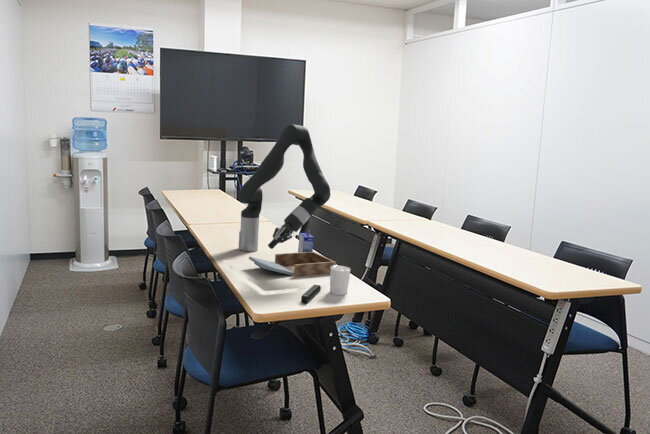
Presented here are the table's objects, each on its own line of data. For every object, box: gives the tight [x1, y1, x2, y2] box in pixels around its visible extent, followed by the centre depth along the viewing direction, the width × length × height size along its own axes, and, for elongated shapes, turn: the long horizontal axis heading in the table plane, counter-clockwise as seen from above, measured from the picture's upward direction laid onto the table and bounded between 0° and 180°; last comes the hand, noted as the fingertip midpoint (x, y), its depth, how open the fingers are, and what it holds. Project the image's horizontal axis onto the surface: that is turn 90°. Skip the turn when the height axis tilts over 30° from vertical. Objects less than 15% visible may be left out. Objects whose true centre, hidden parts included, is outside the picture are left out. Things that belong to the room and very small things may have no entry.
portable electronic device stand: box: [300, 284, 322, 305], centre depth 200 cm, size 18×3×3 cm, turn 164°
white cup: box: [329, 265, 351, 296], centre depth 207 cm, size 8×8×10 cm
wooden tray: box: [274, 251, 337, 278], centre depth 233 cm, size 20×20×6 cm
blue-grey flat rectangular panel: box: [248, 256, 294, 276], centre depth 224 cm, size 2×17×14 cm
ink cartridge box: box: [297, 229, 315, 253], centre depth 256 cm, size 10×6×14 cm, turn 15°
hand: (269, 247), depth 223 cm, fingers closed
